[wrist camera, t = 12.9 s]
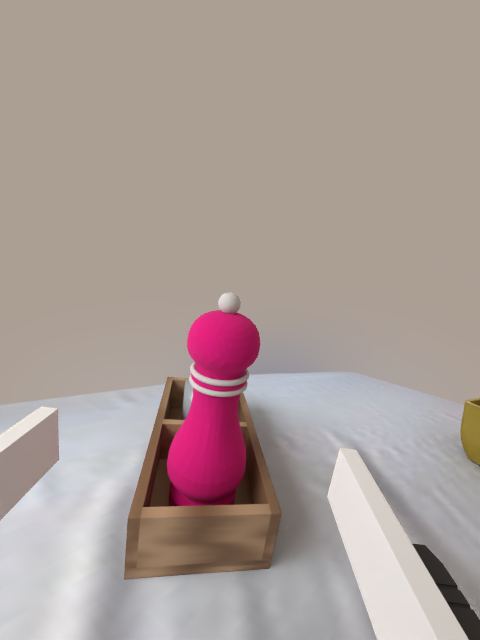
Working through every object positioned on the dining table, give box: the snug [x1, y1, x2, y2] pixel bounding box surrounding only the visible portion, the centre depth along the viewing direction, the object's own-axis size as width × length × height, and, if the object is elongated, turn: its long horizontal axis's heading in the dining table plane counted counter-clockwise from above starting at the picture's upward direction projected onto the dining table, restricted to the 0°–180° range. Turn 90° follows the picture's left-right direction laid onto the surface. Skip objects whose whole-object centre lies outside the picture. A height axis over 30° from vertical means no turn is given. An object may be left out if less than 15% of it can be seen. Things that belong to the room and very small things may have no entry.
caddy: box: [124, 377, 281, 579], centre depth 29 cm, size 11×21×6 cm, turn 9°
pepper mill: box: [167, 293, 260, 506], centre depth 22 cm, size 7×7×20 cm
